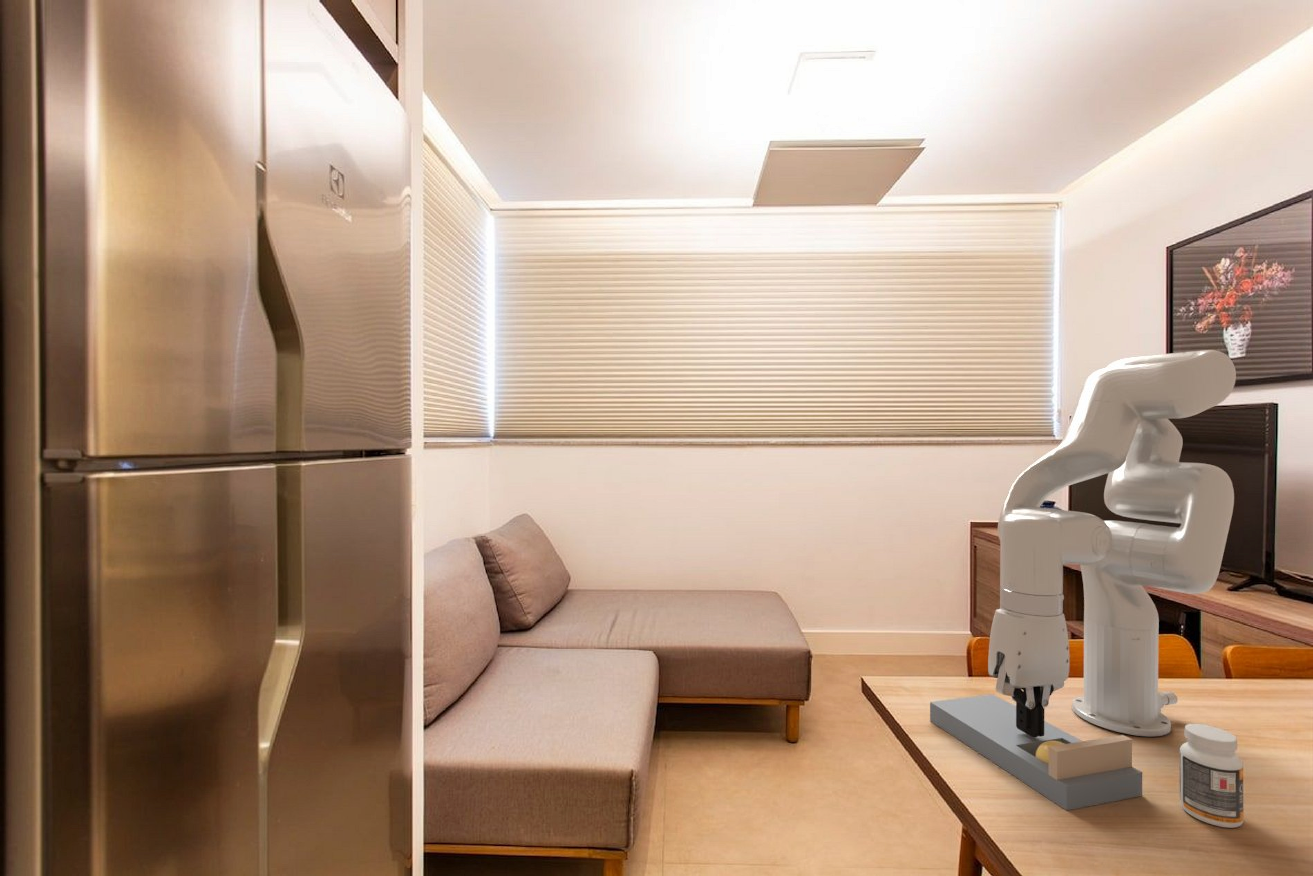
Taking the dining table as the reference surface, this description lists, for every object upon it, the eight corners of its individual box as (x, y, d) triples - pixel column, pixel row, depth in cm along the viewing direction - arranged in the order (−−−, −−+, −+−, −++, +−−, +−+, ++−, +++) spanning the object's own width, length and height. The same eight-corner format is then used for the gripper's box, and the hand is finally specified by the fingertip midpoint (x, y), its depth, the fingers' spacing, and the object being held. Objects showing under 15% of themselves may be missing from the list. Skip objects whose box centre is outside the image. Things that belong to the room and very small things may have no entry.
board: (992, 712, 100) (992, 672, 100) (1142, 795, 77) (1142, 744, 77) (930, 720, 97) (930, 680, 97) (1066, 810, 74) (1066, 757, 74)
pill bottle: (1256, 833, 70) (1257, 746, 70) (1198, 826, 71) (1199, 741, 71) (1221, 804, 76) (1222, 723, 76) (1168, 798, 77) (1168, 719, 77)
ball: (1088, 792, 78) (1053, 774, 83) (1092, 752, 79) (1058, 736, 84) (1057, 789, 77) (1024, 771, 82) (1062, 748, 78) (1029, 732, 83)
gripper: (1049, 592, 92) (1049, 714, 92) (966, 598, 88) (965, 726, 88) (1097, 605, 84) (1096, 738, 85) (1008, 613, 81) (1008, 752, 81)
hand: (1029, 732), depth 86 cm, fingers closed
